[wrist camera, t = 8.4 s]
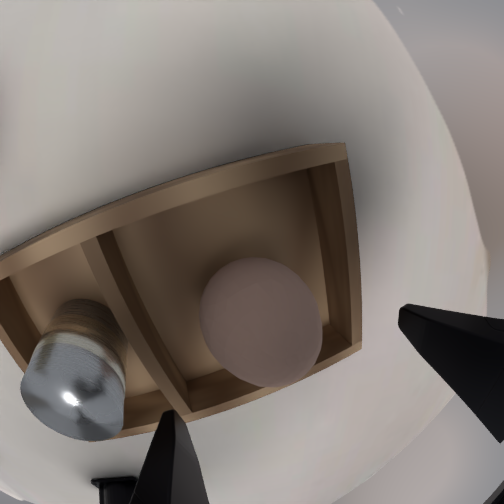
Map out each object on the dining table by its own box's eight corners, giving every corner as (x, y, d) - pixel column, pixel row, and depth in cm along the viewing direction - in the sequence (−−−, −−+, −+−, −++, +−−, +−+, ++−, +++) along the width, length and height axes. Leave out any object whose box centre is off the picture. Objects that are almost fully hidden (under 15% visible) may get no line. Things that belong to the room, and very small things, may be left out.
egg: (262, 223, 15) (341, 276, 8) (292, 298, 17) (362, 371, 10) (173, 270, 14) (188, 362, 8) (217, 339, 16) (255, 434, 10)
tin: (79, 373, 14) (65, 445, 9) (38, 311, 12) (0, 377, 7) (143, 356, 15) (144, 433, 10) (104, 286, 13) (80, 356, 8)
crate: (93, 407, 16) (89, 442, 13) (-3, 257, 11) (-32, 280, 8) (335, 323, 20) (361, 348, 17) (308, 144, 15) (344, 142, 12)
